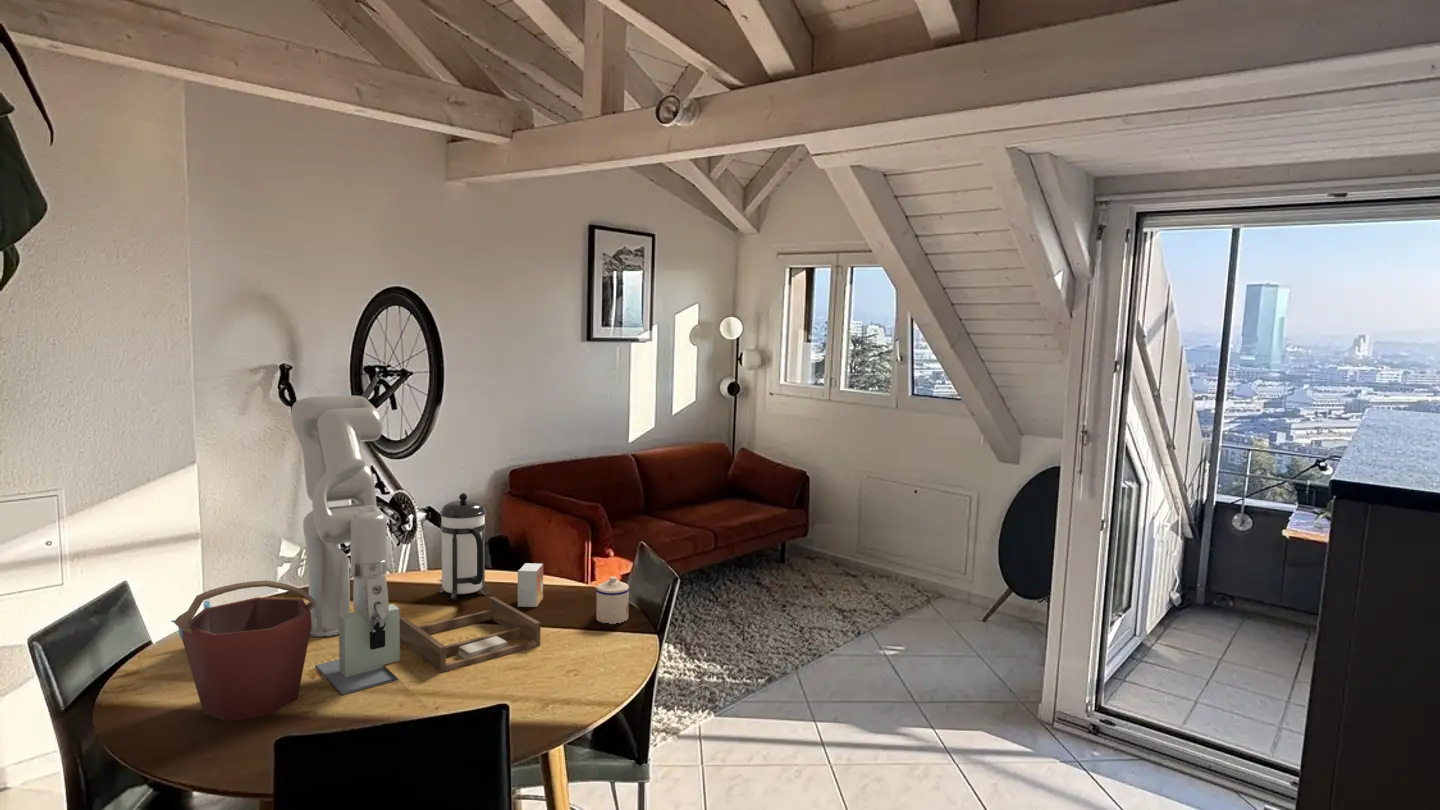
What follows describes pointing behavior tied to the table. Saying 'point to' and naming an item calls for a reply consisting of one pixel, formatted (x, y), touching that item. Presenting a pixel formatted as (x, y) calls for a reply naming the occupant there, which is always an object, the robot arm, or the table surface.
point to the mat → (354, 677)
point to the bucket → (247, 651)
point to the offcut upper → (482, 647)
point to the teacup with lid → (612, 601)
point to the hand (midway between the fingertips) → (369, 641)
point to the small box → (530, 585)
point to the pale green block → (367, 643)
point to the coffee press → (463, 547)
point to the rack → (437, 652)
